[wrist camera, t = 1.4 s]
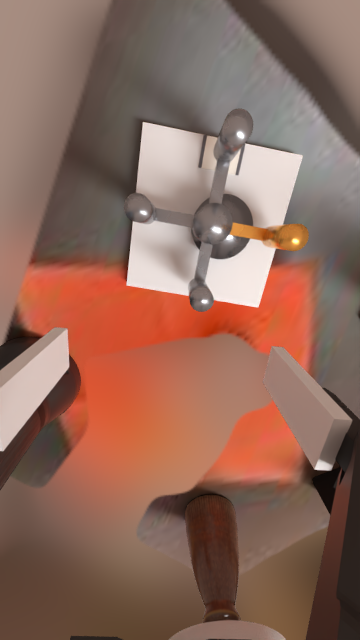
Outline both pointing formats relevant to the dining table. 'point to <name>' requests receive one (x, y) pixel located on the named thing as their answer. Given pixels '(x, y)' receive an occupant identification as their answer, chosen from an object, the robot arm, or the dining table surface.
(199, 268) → the silver metal piece
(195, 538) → the lamp
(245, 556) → the dining table surface
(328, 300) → the dining table surface
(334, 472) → the electronic device
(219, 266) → the stand plate
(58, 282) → the dining table surface
